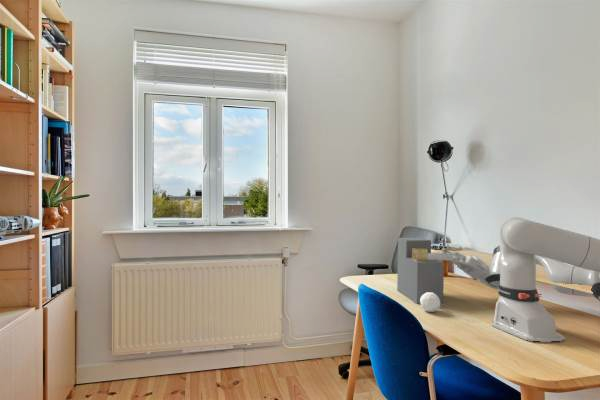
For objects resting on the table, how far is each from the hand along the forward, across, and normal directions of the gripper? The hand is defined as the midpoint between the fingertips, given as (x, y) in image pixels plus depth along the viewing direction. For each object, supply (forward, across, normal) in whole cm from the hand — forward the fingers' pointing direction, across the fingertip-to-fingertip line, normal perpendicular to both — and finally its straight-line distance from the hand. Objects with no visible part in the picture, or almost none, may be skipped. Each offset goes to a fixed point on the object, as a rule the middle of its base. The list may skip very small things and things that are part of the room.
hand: (448, 251), depth 163 cm
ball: (+3, -16, -27) cm, 32 cm away
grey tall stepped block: (-1, +5, -25) cm, 25 cm away
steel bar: (+3, 0, -6) cm, 7 cm away
